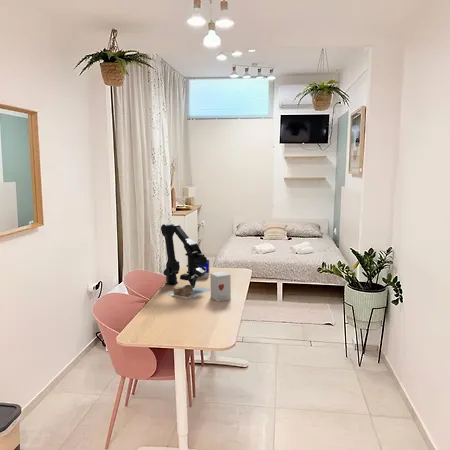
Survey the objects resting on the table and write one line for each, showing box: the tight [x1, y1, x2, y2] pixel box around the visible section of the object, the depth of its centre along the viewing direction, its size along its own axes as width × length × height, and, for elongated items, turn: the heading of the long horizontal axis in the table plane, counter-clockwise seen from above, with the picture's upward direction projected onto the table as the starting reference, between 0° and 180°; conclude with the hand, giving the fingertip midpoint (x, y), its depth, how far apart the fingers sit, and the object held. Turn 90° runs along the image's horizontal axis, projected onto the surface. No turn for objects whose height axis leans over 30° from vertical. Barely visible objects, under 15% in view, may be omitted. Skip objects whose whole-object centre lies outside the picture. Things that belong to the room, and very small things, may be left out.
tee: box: [172, 284, 193, 297], centre depth 261 cm, size 10×10×4 cm
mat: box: [166, 286, 211, 300], centre depth 265 cm, size 18×22×1 cm
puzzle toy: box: [198, 259, 210, 279], centre depth 302 cm, size 10×10×10 cm
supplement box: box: [209, 271, 232, 303], centre depth 250 cm, size 9×9×15 cm
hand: (193, 287), depth 269 cm, fingers closed
